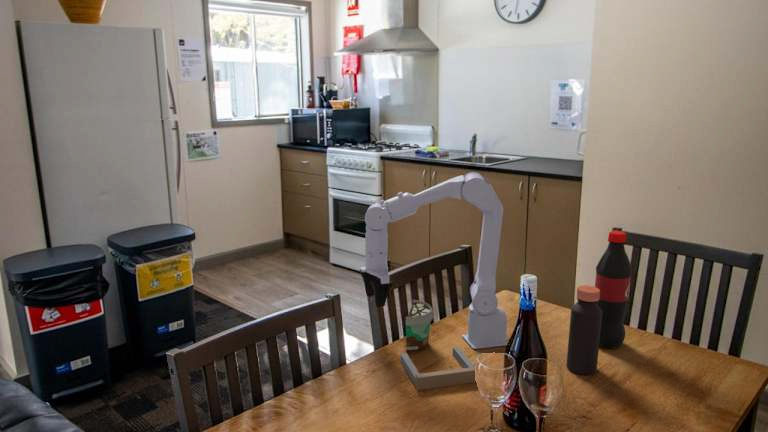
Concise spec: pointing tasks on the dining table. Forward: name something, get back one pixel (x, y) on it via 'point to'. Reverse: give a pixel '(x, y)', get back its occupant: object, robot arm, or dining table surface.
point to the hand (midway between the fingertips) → (375, 300)
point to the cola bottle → (613, 290)
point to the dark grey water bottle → (584, 331)
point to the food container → (418, 326)
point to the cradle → (441, 373)
